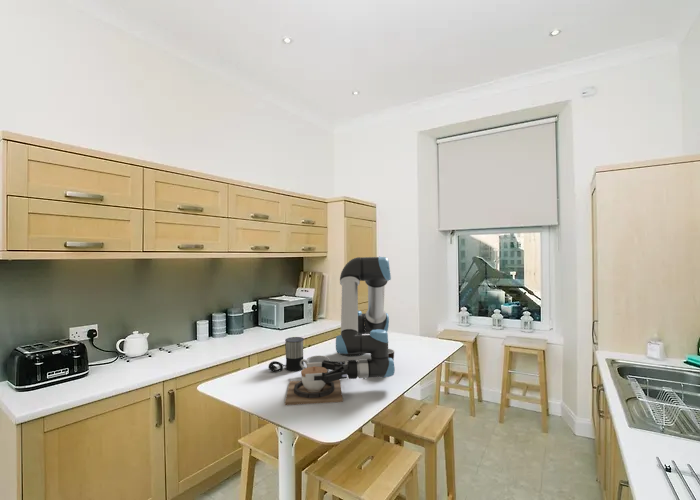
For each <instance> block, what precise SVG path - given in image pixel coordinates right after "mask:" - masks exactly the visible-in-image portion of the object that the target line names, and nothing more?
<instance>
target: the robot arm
mask: <svg viewBox="0 0 700 500" xmlns="http://www.w3.org/2000/svg"><path fill="white" fill-rule="evenodd" d="M390 268H391V267H390V260H389V258H388V257H385V256H369V257H368V256H367V257H366V256H365V257H363V256H362V257H361V256H360V257H359V256H357V257H354V258H352V259H350V260H349V261H348V262H347V263H346V264H345V265H344V267H343V268H342V270H341V272H340V276H339V285H341V305H340V306H341V309H340V310H341V314H340V334H339V335H336V337H335V351H336V353H337V354H339V355H342V356H345V357H359V356H363V355H365V354H370V358H363V359H362V358H361V359H357V360H356V359H348V360H347V362H345V361H335V360H334V361H333V360H329V361H327V360H324V361H323V362H317V363H307V365H306V368H308V367H313V366H315V367H324V368H326V369H329V372H327V373H323V372H322V373H314V374H305V378H306V381H324V383H327V382H332V381H336V380H345V379H347V378H348V379H349V380H354V379H355V380H357V378H358V379H363V380H365V379H369V378H370V379H372V378H388V377H393V376H394V375H395V368H396V367H395V362H394V361H393V359H392V358H389V356H388V349H389V335H388V332H389V328H390V327H389V326H390V325H389V324H390V318H389V317H390V316H389V313H387V312H386V310H385V288H386V287H385V286H386V285H387V284H388V282H389V281H391V280H392V275H391V269H390ZM360 282H365V284H366V285H367V305H368V306H367V310H366V311H365V313H363V312H362V311H361V310H359V301H358V300H359V297H358V296H359V289H358V286H360ZM345 363H346V364H345Z"/></svg>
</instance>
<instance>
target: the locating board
mask: <svg viewBox="0 0 700 500" xmlns="http://www.w3.org/2000/svg"><path fill="white" fill-rule="evenodd" d="M340 380H341V379H340ZM340 380H336V381H332V382H327V383H326V384H325V386H324V387H323V388H322V390H321V391H319V392H309V391H307V389H306V388H305V387H304V386H303V383H302V380H290V381H289V384H288V388H287V393H286V396H285V401H284V406H295V405H311V404H325V403H326V404H330V403H344V402H343V401H344V398H343V393H342V387H341V386H342V385H341V381H340Z"/></svg>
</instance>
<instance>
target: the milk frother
mask: <svg viewBox="0 0 700 500" xmlns="http://www.w3.org/2000/svg"><path fill="white" fill-rule="evenodd" d="M304 339H305V338H304V337H302V336H301V337H300V336H292V337H288V338H285V343H284V346H285V359H286V360H285V364H283V363H282V362H280V361H275V360H273V361H271V362H270V363H269V364H268V370H269V371H271V372H275V373H276V372H281V371H282V370H283V368H284V367H285V370H286V371H287V372H298V371H302V370H303V368H302V367H301V366H300V361H301V360H302V359H304ZM304 363H305V362H302V365H303V366H304V367H305V364H304ZM275 365H278V366H279V368H277V366H275Z"/></svg>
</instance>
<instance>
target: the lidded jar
mask: <svg viewBox="0 0 700 500" xmlns="http://www.w3.org/2000/svg"><path fill="white" fill-rule="evenodd" d="M300 371H301V372H300V374H301V381H302V383H303V386H304V387H305V388H306V389H307V391H309V392H319V391H321V390H322V388H323V387H324V386H325V384H326V383H324V381H306V378H305V374H314V373H322V372H323V373H327V369H326V368H324V367H315V366H313V367H308V368H307V367H306V368H305V369H302V370H300Z"/></svg>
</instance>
